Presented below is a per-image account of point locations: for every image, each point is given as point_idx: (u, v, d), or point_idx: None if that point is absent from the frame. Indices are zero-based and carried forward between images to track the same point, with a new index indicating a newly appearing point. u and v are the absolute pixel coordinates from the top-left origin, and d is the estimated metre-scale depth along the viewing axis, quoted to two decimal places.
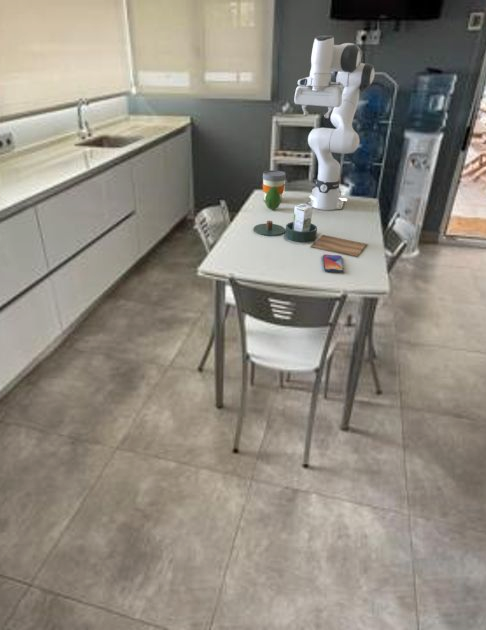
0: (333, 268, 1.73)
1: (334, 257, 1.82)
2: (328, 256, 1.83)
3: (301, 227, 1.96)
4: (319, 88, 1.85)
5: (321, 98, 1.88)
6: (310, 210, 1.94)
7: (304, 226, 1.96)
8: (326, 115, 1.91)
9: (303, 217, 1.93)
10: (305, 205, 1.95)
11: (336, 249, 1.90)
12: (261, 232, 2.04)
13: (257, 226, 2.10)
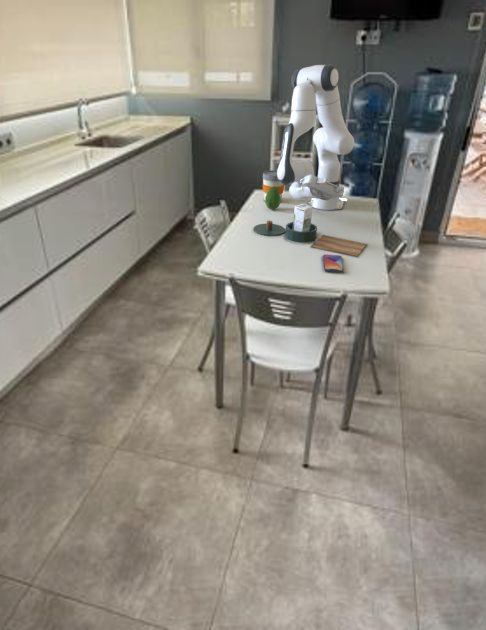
0: (333, 268, 1.73)
1: (334, 257, 1.82)
2: (328, 256, 1.83)
3: (301, 227, 1.96)
4: (314, 192, 2.04)
5: (318, 188, 2.00)
6: (310, 210, 1.94)
7: (304, 226, 1.96)
8: (324, 183, 1.93)
9: (303, 217, 1.93)
10: (305, 205, 1.95)
11: (336, 249, 1.90)
12: (261, 232, 2.04)
13: (257, 226, 2.10)
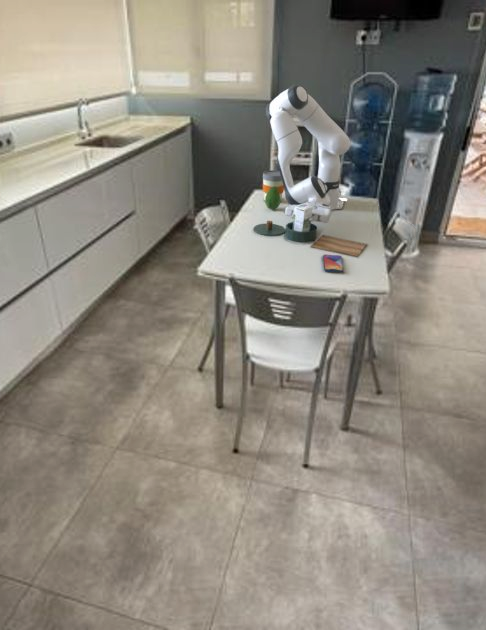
0: (333, 268, 1.73)
1: (334, 257, 1.82)
2: (328, 256, 1.83)
3: (301, 227, 1.96)
4: None
5: None
6: (310, 210, 1.94)
7: (304, 226, 1.96)
8: None
9: (303, 217, 1.93)
10: (305, 205, 1.95)
11: (336, 249, 1.90)
12: (261, 232, 2.04)
13: (257, 226, 2.10)
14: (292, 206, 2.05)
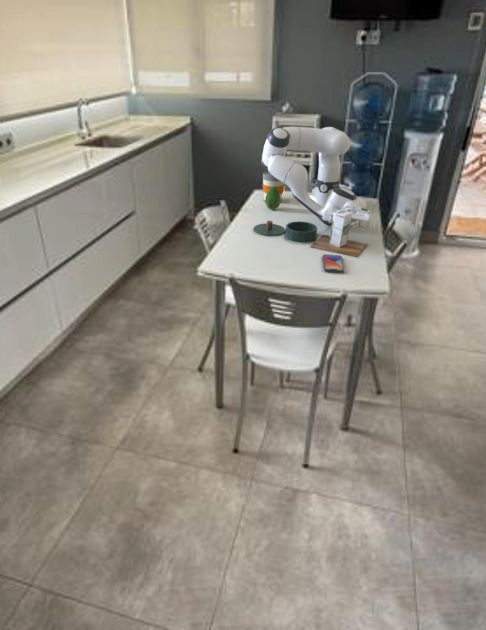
0: (333, 268, 1.73)
1: (334, 257, 1.82)
2: (328, 256, 1.83)
3: (340, 234, 1.89)
4: None
5: None
6: (349, 216, 1.87)
7: (343, 233, 1.89)
8: None
9: (342, 224, 1.86)
10: (344, 211, 1.88)
11: (336, 249, 1.90)
12: (261, 232, 2.04)
13: (257, 226, 2.10)
14: (329, 210, 1.98)
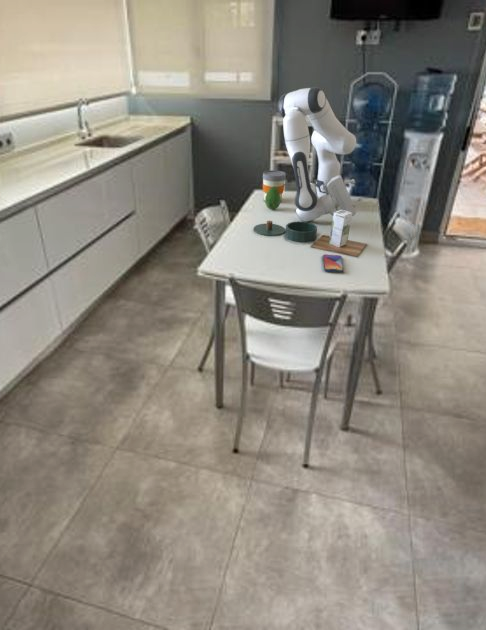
0: (333, 268, 1.73)
1: (334, 257, 1.82)
2: (328, 256, 1.83)
3: (340, 234, 1.89)
4: (334, 200, 2.10)
5: (341, 193, 2.08)
6: (349, 216, 1.87)
7: (343, 233, 1.89)
8: (352, 182, 2.06)
9: (342, 224, 1.86)
10: (344, 211, 1.88)
11: (336, 249, 1.90)
12: (261, 232, 2.04)
13: (257, 226, 2.10)
14: None
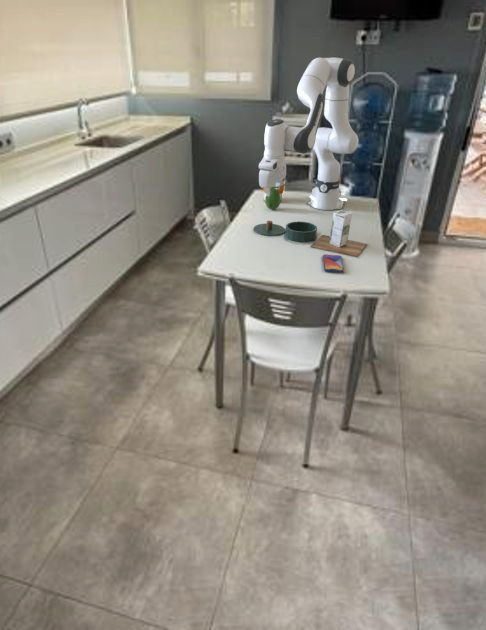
0: (333, 268, 1.73)
1: (334, 257, 1.82)
2: (328, 256, 1.83)
3: (340, 234, 1.89)
4: (281, 167, 1.93)
5: (279, 175, 1.96)
6: (349, 216, 1.87)
7: (343, 233, 1.89)
8: (279, 187, 2.02)
9: (342, 224, 1.86)
10: (344, 211, 1.88)
11: (336, 249, 1.90)
12: (261, 232, 2.04)
13: (257, 226, 2.10)
14: None
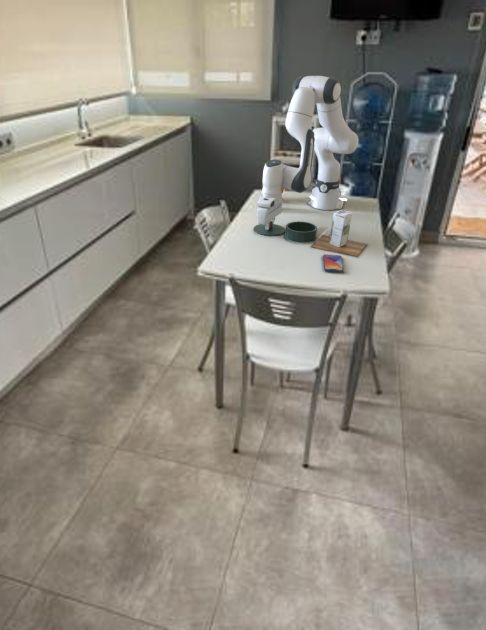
0: (333, 268, 1.73)
1: (334, 257, 1.82)
2: (328, 256, 1.83)
3: (340, 234, 1.89)
4: (277, 204, 2.01)
5: (276, 211, 2.05)
6: (349, 216, 1.87)
7: (343, 233, 1.89)
8: (273, 224, 2.08)
9: (342, 224, 1.86)
10: (344, 211, 1.88)
11: (336, 249, 1.90)
12: (261, 232, 2.04)
13: (257, 226, 2.10)
14: None
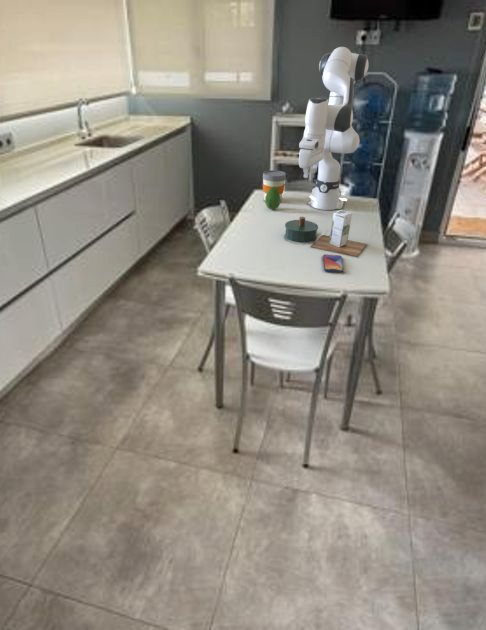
0: (333, 268, 1.73)
1: (334, 257, 1.82)
2: (328, 256, 1.83)
3: (340, 234, 1.89)
4: (320, 147, 1.85)
5: (318, 156, 1.88)
6: (349, 216, 1.87)
7: (343, 233, 1.89)
8: (316, 170, 1.94)
9: (342, 224, 1.86)
10: (344, 211, 1.88)
11: (336, 249, 1.90)
12: (294, 228, 1.96)
13: (288, 222, 2.02)
14: None
